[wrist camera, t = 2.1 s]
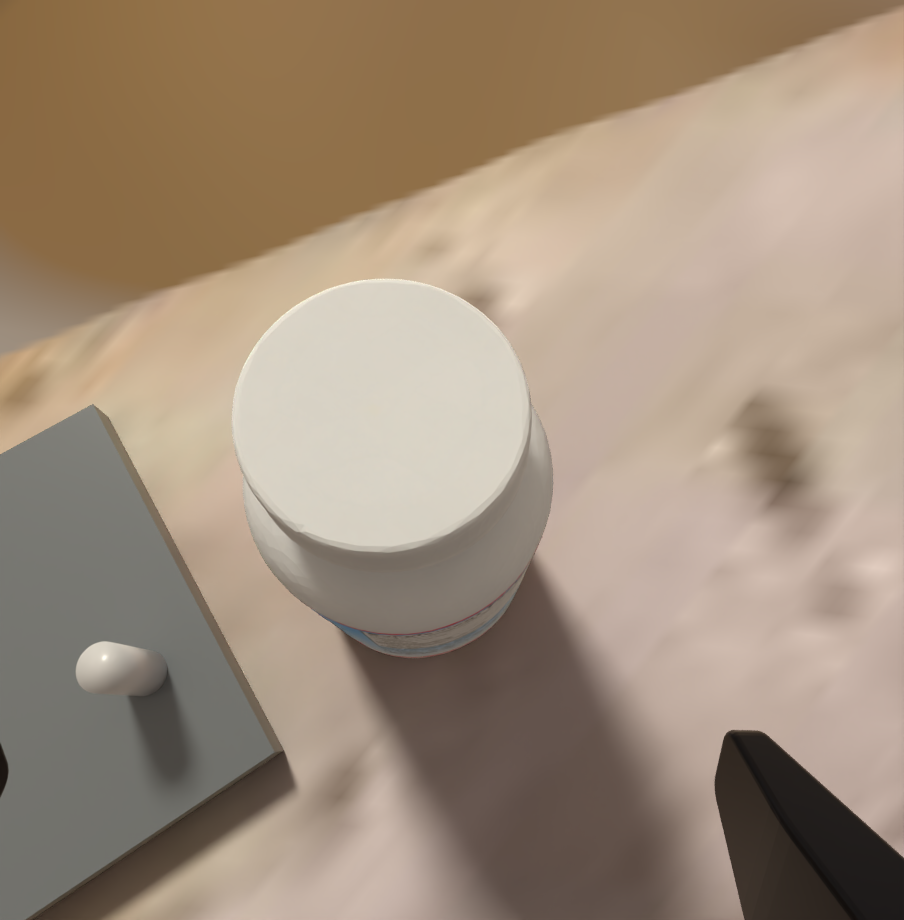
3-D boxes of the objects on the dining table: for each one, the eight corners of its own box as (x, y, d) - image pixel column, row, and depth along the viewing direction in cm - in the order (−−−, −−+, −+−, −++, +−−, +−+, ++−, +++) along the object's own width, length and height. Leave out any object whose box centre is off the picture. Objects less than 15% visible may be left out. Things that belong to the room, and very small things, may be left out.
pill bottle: (303, 489, 22) (156, 280, 11) (492, 443, 22) (518, 202, 12) (340, 686, 20) (202, 654, 9) (546, 632, 20) (637, 544, 10)
